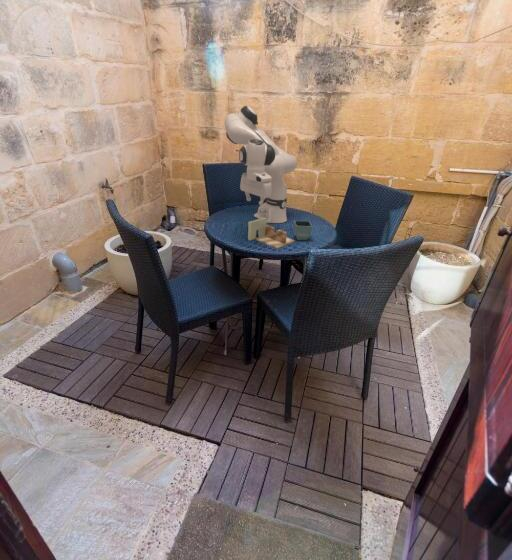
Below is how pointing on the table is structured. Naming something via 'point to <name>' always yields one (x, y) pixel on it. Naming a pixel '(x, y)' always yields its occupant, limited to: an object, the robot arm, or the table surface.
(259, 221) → the slot plate
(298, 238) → the flower pot
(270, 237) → the tan piece
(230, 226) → the table surface
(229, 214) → the table surface
